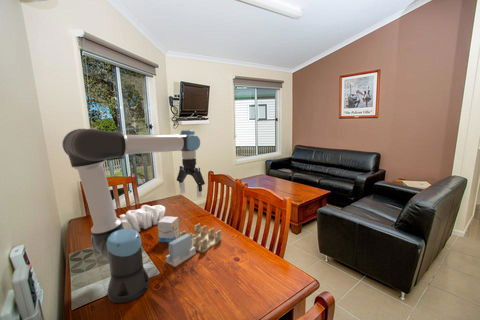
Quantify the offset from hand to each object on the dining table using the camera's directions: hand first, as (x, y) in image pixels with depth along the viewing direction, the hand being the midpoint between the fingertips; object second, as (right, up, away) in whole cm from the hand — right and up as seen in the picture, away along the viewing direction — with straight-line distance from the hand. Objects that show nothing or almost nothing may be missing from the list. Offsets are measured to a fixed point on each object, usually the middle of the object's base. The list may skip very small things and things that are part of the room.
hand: (190, 195), depth 130 cm
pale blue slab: (-1, -27, -19) cm, 33 cm away
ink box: (-12, -25, +1) cm, 28 cm away
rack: (+6, -25, -4) cm, 26 cm away
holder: (-1, -28, -19) cm, 33 cm away
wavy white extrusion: (-36, -23, +19) cm, 47 cm away
